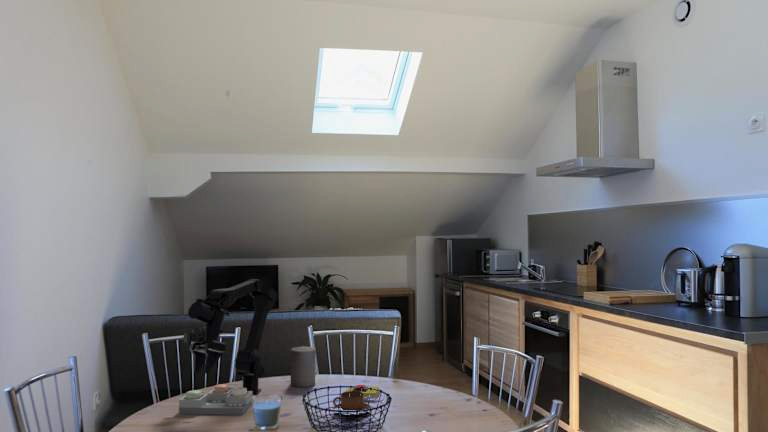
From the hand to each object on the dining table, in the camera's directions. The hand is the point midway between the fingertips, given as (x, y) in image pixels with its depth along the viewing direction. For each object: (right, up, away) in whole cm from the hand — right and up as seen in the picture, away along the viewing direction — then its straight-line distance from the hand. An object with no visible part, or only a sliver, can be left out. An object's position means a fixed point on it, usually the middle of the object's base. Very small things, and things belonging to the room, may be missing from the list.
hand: (200, 373), depth 181 cm
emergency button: (+53, -14, +17) cm, 57 cm away
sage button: (-3, -9, +2) cm, 10 cm away
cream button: (+11, -9, +5) cm, 16 cm away
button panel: (+5, -13, +5) cm, 15 cm away
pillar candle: (+29, -14, +35) cm, 47 cm away
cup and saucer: (+50, -13, -1) cm, 51 cm away
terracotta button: (+4, -10, +9) cm, 14 cm away
